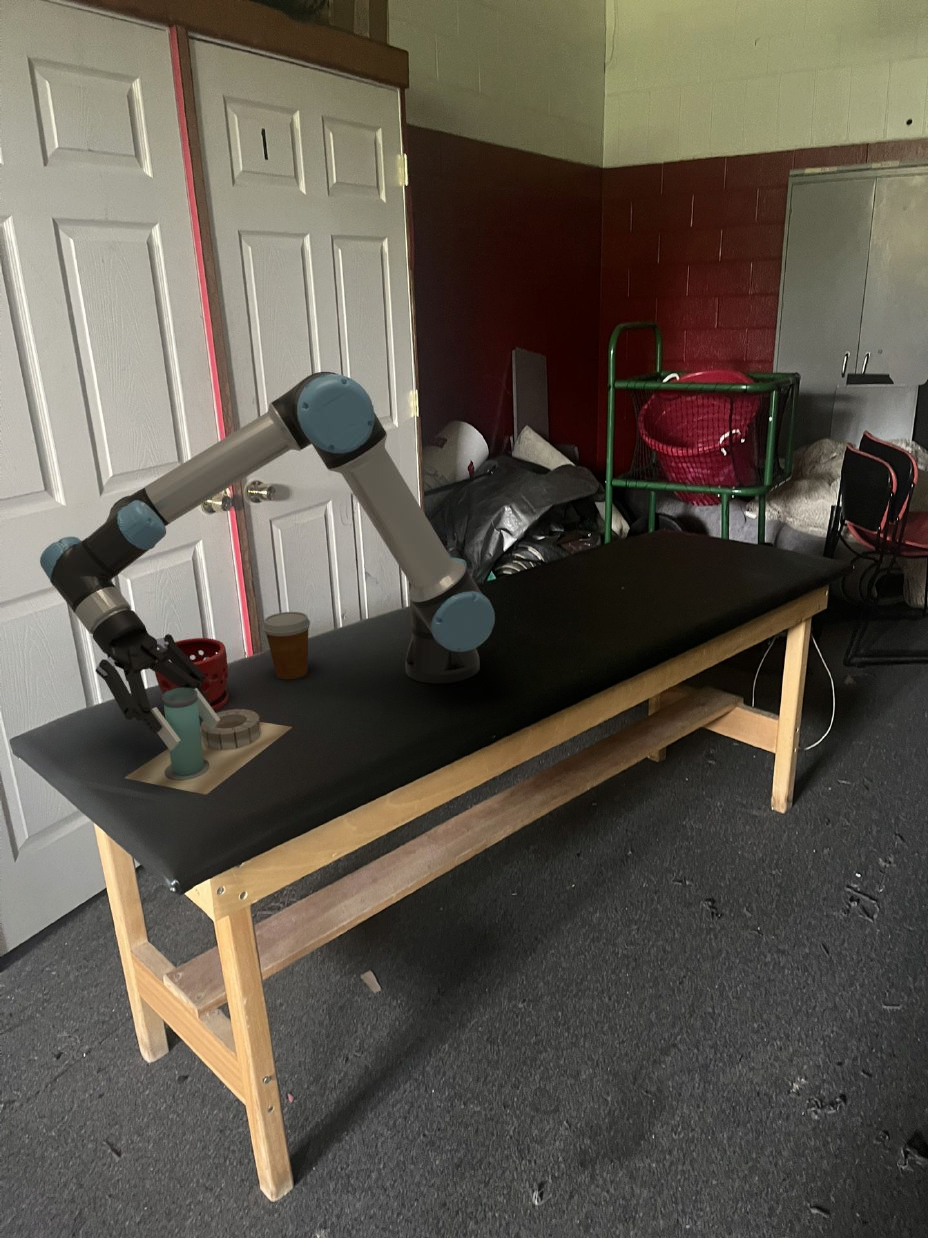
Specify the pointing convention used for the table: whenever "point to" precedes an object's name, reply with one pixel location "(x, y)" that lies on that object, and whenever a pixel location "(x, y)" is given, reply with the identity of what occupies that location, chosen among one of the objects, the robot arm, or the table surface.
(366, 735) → the table surface
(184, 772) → the teal cylindrical container
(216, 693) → the plant pot
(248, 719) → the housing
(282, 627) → the disposable coffee cup
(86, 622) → the robot arm
